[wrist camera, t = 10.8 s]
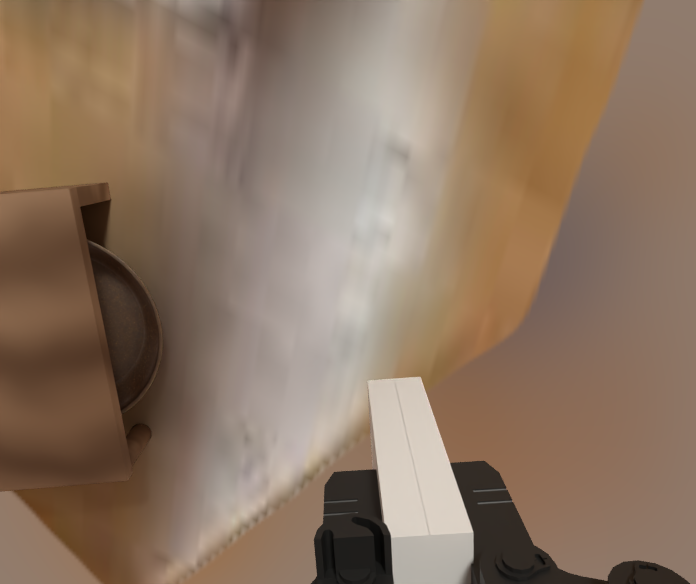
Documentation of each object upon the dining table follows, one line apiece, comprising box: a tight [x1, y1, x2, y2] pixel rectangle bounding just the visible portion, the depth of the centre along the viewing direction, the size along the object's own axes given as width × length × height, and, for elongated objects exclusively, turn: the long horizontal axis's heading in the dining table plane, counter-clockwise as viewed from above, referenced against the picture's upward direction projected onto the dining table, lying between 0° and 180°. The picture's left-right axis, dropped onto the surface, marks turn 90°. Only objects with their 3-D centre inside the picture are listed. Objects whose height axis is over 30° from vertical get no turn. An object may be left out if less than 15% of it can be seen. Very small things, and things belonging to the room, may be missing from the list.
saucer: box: [87, 240, 163, 414], centre depth 42 cm, size 15×15×3 cm
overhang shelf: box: [0, 183, 151, 491], centre depth 40 cm, size 20×14×6 cm
